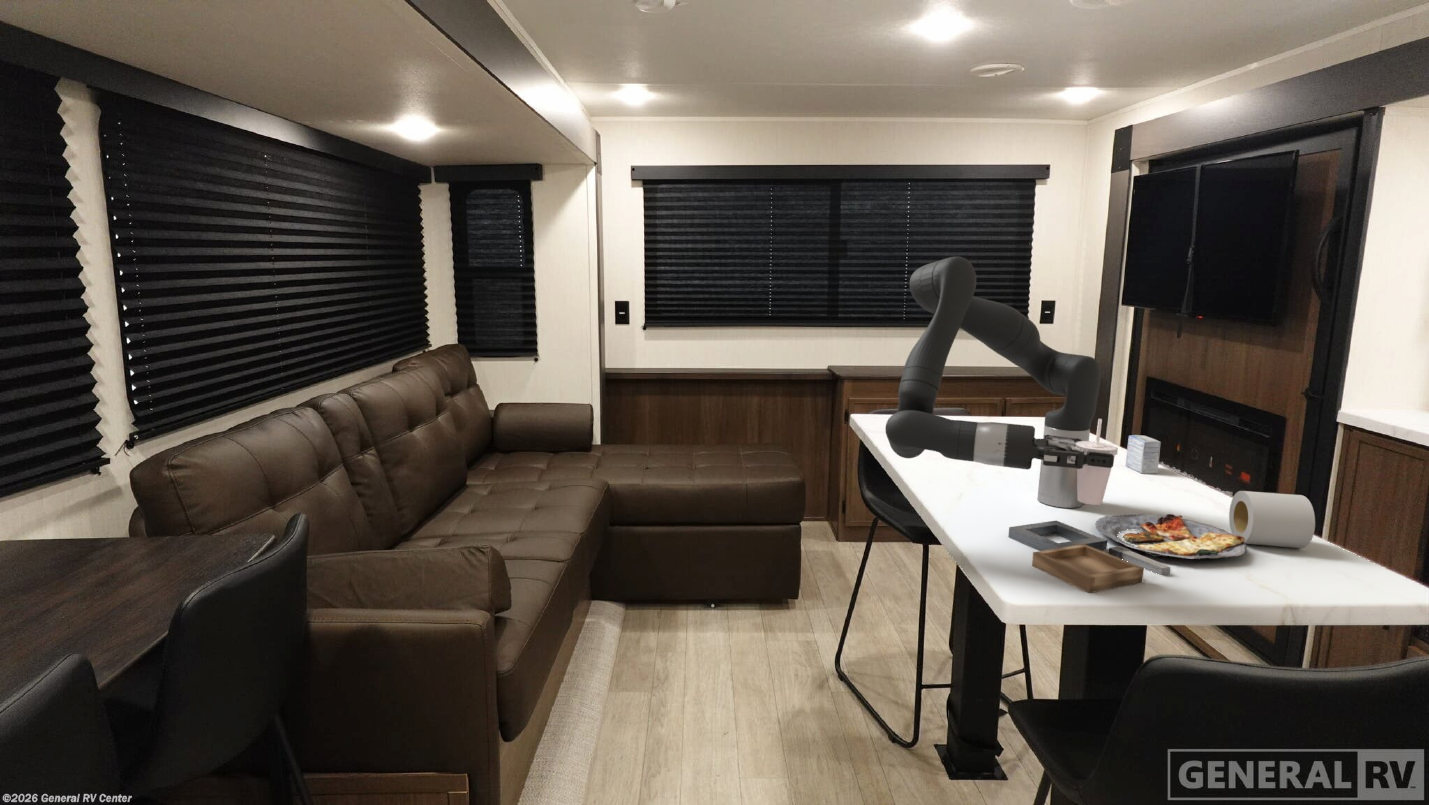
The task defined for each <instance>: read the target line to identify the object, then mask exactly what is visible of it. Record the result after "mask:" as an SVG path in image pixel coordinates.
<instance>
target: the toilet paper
mask: <svg viewBox="0 0 1429 805" xmlns="http://www.w3.org/2000/svg"><path fill="white" fill-rule="evenodd" d="M1228 513H1229V515H1228V517H1229V518H1228V519H1229V520H1228V521H1229V528H1230V533H1231V534H1233V535H1237V536H1242V537H1244V539H1245V541H1244V543H1245V544H1246V545H1258V546H1269V547H1280V548H1290V549H1291V548H1292V549H1304V548H1307V547H1308V546H1309V545H1310V544H1311V542H1312V540H1313V538H1314V534H1315V530H1316V529H1315V528H1316V515H1315V511H1314V507H1313V504H1312V503H1311V501H1310V500H1309V499H1308V498H1307V497H1306V496H1304V495H1302V494H1288V493H1277V492H1261V491H1249V490H1239V491H1237V492H1236V493H1235V494H1234V496H1233V497H1232V499H1231V503H1230V506H1229V512H1228Z"/></svg>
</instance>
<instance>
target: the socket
mask: <svg viewBox="0 0 1429 805" xmlns="http://www.w3.org/2000/svg"><path fill="white" fill-rule="evenodd" d="M1053 535H1054V536H1055V535H1056V536H1059V537H1061V538H1064V539H1066V540H1068V541H1062V542H1056V541H1054V540H1052V539H1049V538H1046V536H1047V537H1049V536H1053ZM1007 537H1008V538H1010V539H1012V540H1014V541H1016V542H1019V543H1021V544H1023V545H1025V546H1027V547H1030V548H1031V549H1032V548H1033V549H1034V550H1037V551H1044V550H1051V549H1057V548H1063V547H1069V546H1075V545H1082V544H1085V545H1088V546H1090V547H1093V548H1095V549H1098V550H1100V551H1103V552H1106V551H1107V547H1108V539H1105V538H1103V537H1100V536H1097V535H1095V534H1092V533H1090V532H1087V531H1085V530H1082V529H1079V528H1076V527H1074V526H1071V525H1068V524H1066V523H1064V522H1061V521H1058V520H1051V521H1049V520H1048V521H1043V522H1042V521H1041V522H1036V523H1029V524H1028V523H1027V524H1023V525H1015V526H1009V527H1008V536H1007Z"/></svg>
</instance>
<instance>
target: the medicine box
mask: <svg viewBox="0 0 1429 805" xmlns="http://www.w3.org/2000/svg"><path fill="white" fill-rule="evenodd" d="M1161 444H1162V442H1161V441H1159V440H1157V439H1155V438H1153V437H1149V436H1147V435H1140V434H1133V435H1128V440H1127V448H1126V457H1125V467H1127V468H1129V469H1131V470H1133V471H1136V472H1137V473H1140V474H1142V475H1143V474H1144V475H1146V474H1147V475H1157V474H1158V472H1159V464H1160V462H1159V461H1160V453H1161V452H1160V451H1161Z"/></svg>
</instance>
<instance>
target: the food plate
mask: <svg viewBox="0 0 1429 805" xmlns="http://www.w3.org/2000/svg"><path fill="white" fill-rule="evenodd" d="M1094 526H1095V528H1096V530H1098V532H1100V533H1101V534H1103V536H1106V537H1107V538H1110V539H1112V541H1114V542H1117V543H1120V544H1123V545H1124V546H1125V547H1128V548H1131V549H1135V550H1138V551H1139V552H1143V553H1146V554H1147V555H1149V554H1150V555H1151V556H1153V557H1157V558H1158V557H1161V556H1163V557H1165V558H1166V556H1167V557H1168V556H1169V557H1173V558H1180V559H1188V560H1189V559H1190V560H1195V559H1196V560H1200V559H1218V558H1219V559H1220V558H1229V557H1239V556H1245V555H1246V554H1247V553H1248V552H1247V548H1248V544H1245V543H1244V541H1245V539H1244V537H1242V536H1237V535H1233V534H1232V533H1231V532H1228V531H1227V530H1224V529H1221V528H1220V527H1216V526H1214V525H1211V524H1207V523H1202V522H1198V521H1194V520H1191V519H1187V518H1183V516H1182V515H1175V514H1173V513H1172V514H1171V513H1167V514H1166V515H1153V514H1152V515H1151V514H1145V513H1141V514H1139V513H1138V514H1120V515H1117V514H1116V515H1107V516H1106V515H1105V516H1103V517H1099V518H1098V519H1097V520H1096V521H1095V522H1094ZM1127 529H1128V530H1127ZM1132 529H1134V530H1133V532H1134V531H1135V533H1133V532H1131V530H1132ZM1126 530H1127V531H1128V532H1126ZM1121 531H1124V532H1126V533H1124V534H1123V535H1122V538H1120V537H1117V536H1119V535H1120V534H1122V533H1123V532H1121ZM1138 531H1139V532H1138ZM1119 532H1120V533H1119ZM1117 534H1118V535H1117ZM1154 543H1155V544H1154ZM1135 545H1137V546H1135Z"/></svg>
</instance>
